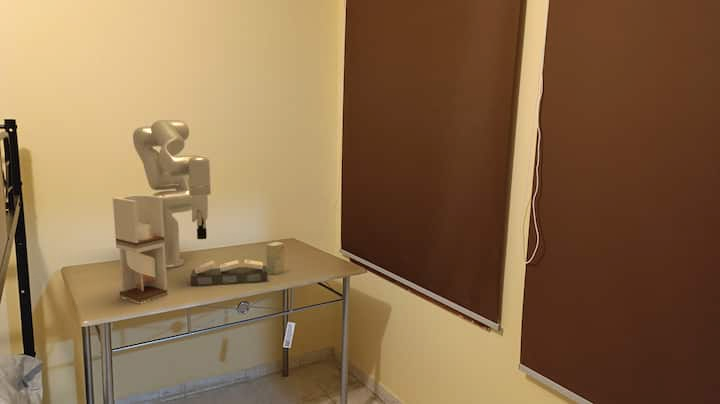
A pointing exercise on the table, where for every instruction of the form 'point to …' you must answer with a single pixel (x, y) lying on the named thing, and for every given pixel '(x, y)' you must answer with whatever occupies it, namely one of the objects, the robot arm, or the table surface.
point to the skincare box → (275, 258)
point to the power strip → (228, 276)
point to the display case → (141, 246)
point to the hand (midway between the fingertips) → (202, 238)
